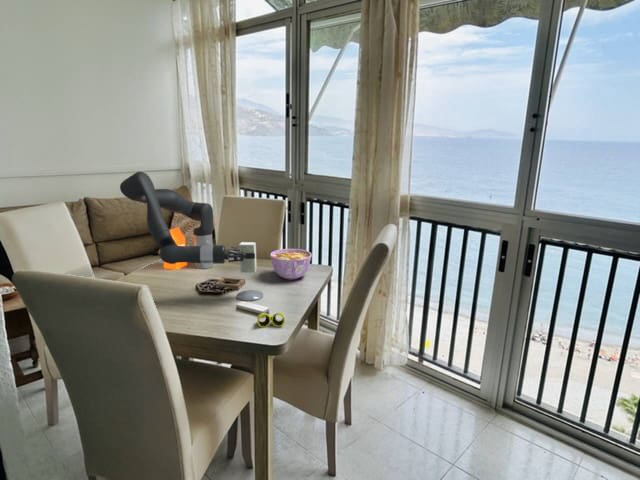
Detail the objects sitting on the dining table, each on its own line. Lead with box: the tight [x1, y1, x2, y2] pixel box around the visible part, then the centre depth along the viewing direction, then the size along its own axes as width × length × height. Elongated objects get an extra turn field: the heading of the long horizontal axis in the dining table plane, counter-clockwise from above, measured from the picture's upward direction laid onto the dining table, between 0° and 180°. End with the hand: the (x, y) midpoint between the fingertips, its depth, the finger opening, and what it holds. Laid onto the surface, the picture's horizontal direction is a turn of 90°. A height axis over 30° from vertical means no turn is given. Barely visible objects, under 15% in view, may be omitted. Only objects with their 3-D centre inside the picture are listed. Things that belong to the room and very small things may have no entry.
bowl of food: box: [269, 248, 313, 280], centre depth 191 cm, size 20×20×12 cm
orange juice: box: [163, 227, 188, 271], centre depth 202 cm, size 8×9×20 cm
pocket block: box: [214, 277, 246, 291], centre depth 179 cm, size 9×11×2 cm
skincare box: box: [238, 241, 258, 274], centre depth 163 cm, size 6×4×12 cm
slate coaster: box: [236, 289, 264, 302], centre depth 168 cm, size 11×11×1 cm
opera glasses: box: [256, 312, 286, 329], centre depth 142 cm, size 10×5×5 cm, turn 99°
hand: (254, 254), depth 163 cm, fingers closed on skincare box, 5 cm apart
